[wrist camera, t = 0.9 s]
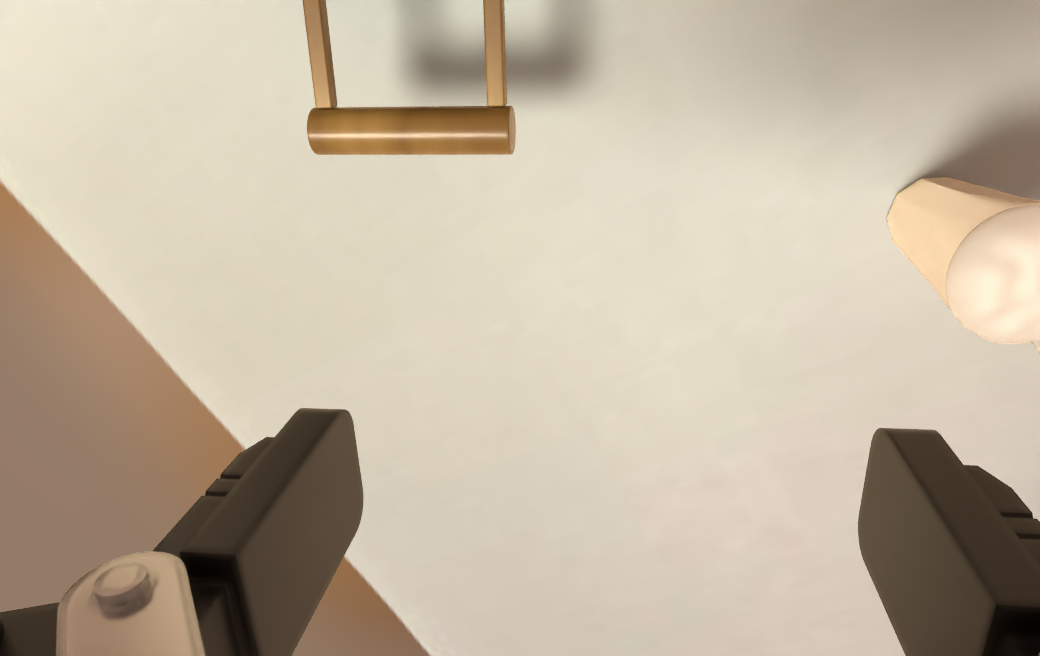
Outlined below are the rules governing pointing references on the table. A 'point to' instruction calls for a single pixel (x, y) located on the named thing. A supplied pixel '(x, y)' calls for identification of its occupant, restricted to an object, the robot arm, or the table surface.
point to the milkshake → (975, 254)
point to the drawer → (409, 125)
